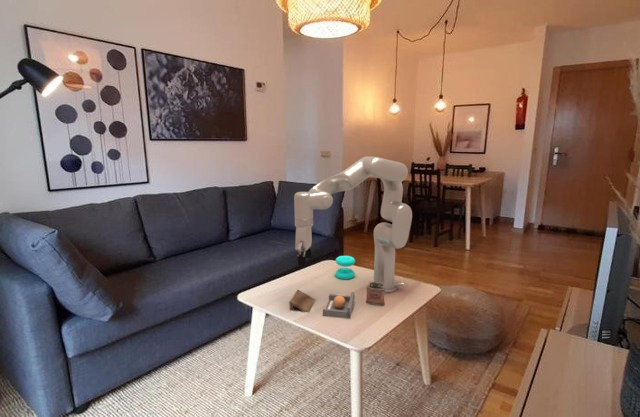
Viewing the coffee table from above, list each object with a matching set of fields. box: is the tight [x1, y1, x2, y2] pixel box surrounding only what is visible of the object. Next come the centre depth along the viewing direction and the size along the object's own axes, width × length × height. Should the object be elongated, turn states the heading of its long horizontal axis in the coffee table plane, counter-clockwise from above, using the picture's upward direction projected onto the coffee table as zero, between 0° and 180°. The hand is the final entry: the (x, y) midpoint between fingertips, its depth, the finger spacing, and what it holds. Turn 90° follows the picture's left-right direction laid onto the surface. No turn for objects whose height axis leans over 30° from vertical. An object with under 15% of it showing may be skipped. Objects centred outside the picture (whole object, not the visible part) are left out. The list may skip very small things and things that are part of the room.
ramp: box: [288, 289, 316, 313], centre depth 150 cm, size 9×12×5 cm
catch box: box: [322, 292, 355, 320], centre depth 147 cm, size 11×15×4 cm
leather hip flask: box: [365, 280, 385, 307], centre depth 151 cm, size 8×3×10 cm, turn 70°
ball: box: [333, 296, 345, 308], centre depth 147 cm, size 5×5×5 cm
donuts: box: [335, 255, 356, 280], centre depth 182 cm, size 10×10×10 cm
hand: (304, 261), depth 148 cm, fingers open, 9 cm apart
